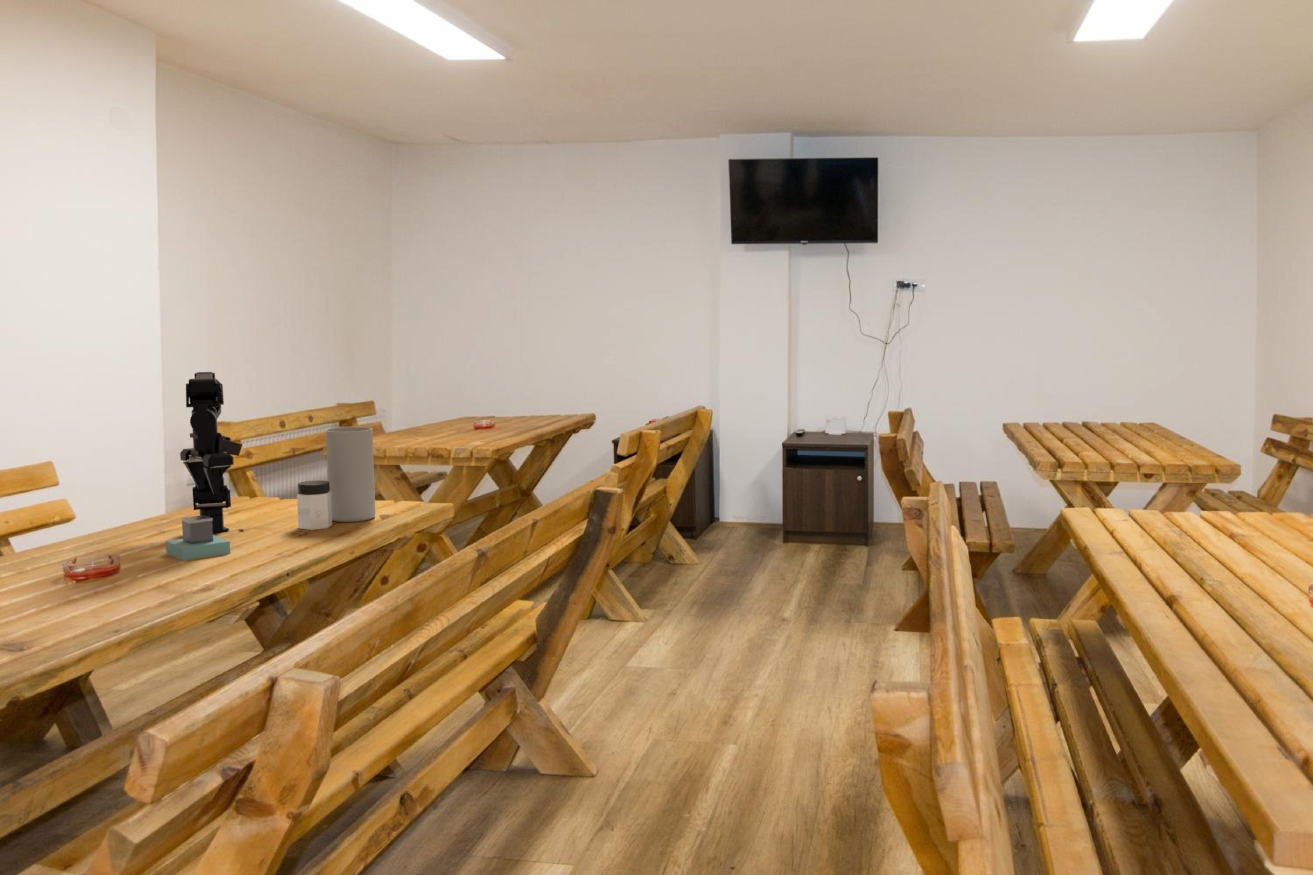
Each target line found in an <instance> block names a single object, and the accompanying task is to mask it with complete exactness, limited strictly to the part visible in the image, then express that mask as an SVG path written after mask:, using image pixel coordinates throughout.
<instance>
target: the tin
mask: <svg viewBox="0 0 1313 875" xmlns="http://www.w3.org/2000/svg"><path fill="white" fill-rule="evenodd" d="M180 519H181V525H182V526H181V528H182V539H183V541H184V542H187V543H189V544H197V543H203V542H210V541H213V535H214V533H213V527H212V521H213V518H211V517H208V516H205V515H201V516H200V515H194V516H187V517H181V518H180Z"/></svg>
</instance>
